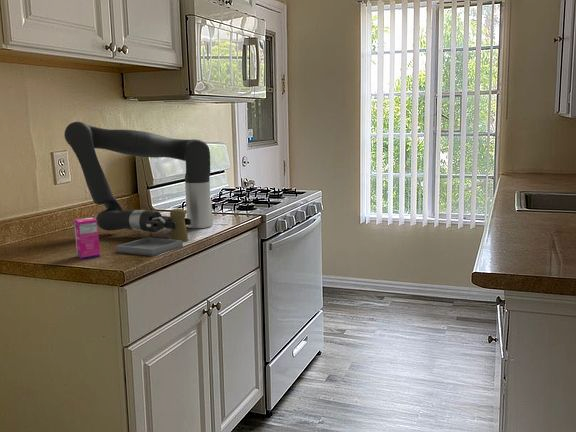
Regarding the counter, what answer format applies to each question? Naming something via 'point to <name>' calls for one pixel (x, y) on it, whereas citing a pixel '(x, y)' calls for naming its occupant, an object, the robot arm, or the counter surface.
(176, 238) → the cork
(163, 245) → the tray
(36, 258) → the counter surface
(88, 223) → the supplement box
